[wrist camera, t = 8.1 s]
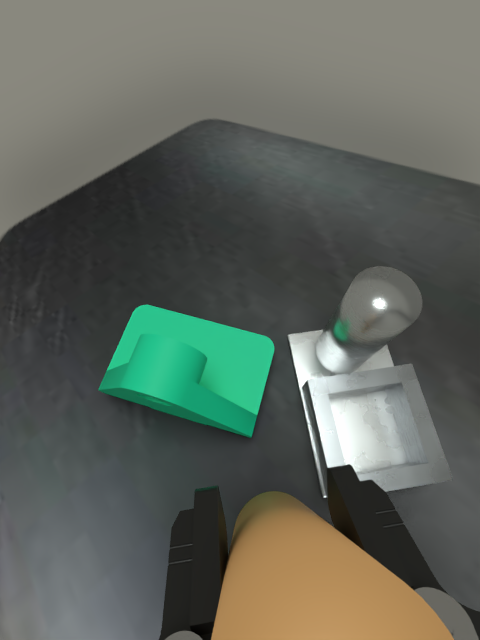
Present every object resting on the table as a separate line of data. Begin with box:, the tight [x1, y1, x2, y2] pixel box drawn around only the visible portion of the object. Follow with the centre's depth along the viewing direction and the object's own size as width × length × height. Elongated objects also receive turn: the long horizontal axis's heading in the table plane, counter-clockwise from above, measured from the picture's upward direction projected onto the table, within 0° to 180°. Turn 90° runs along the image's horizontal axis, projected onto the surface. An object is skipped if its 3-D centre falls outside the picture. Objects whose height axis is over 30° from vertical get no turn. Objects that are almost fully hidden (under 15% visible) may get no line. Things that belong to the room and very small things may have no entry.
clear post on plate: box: [287, 266, 453, 497], centre depth 22 cm, size 12×8×11 cm, turn 9°
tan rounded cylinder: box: [211, 491, 454, 640], centre depth 9 cm, size 4×4×11 cm
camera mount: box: [98, 305, 274, 438], centre depth 24 cm, size 12×8×10 cm, turn 74°
